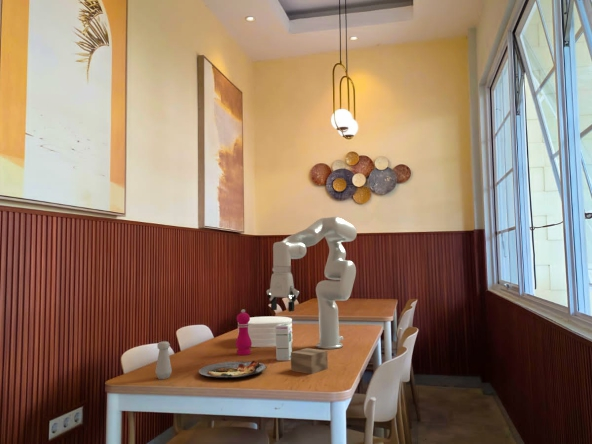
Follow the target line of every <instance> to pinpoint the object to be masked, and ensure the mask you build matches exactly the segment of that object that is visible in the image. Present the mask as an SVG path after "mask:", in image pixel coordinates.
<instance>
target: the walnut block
mask: <svg viewBox="0 0 592 444" xmlns="http://www.w3.org/2000/svg"><path fill="white" fill-rule="evenodd" d="M328 365H329V363H328V350H326V349H325V350H323V349H319V348H318V349H317V348H310V347H306V348H302V349H299V350H293V351H292V352H291V359H290V371H292V372H299V373H305V374H309V375H313V374H316V373H318V372H319V373H320V372H322V371H325V370H328V369H329V367H328Z"/></svg>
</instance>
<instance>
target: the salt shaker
mask: <svg viewBox="0 0 592 444" xmlns="http://www.w3.org/2000/svg"><path fill="white" fill-rule="evenodd" d="M170 345H171V344H170V342H169V341H159V342H158V343H157V349H158V350H159V351H158V356H157V361H156V367H155V375H156V377H157V379H158V380H167V378H168V379H169V378H170V377H171V375H172V371H173V370H172V365H171V358H170V353H169V348H170Z"/></svg>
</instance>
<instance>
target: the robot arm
mask: <svg viewBox="0 0 592 444" xmlns="http://www.w3.org/2000/svg"><path fill="white" fill-rule="evenodd" d="M357 234H358V233H357V229H356V227H355V226H354V225H353V224H352V223H350V222H349V221H347V220H345V219H343V218H340V217H339V216H330V217H322V218H319V219H317V220H315V221H314V222H313V223H312V224H310V225H309V226H308V227H307V228H305V229H302V230H301V231H300V230H299V231H298V232H296V233H294V234H291V235H289V236H287V237H286V238H284V239H283V240H281V241H276V242H274V243H273V245H272V246H273V247H272V251H273V254H272V255H273V256H272V257H273V259H272V260H273V262H272V263H273V266H272V269H271V270H272V272H273V273H272V274H271V278H270V284H269V285H270V288H269V289H267V290H266V294H267V297H268V299H269V301H270V310H271V311H277V310H278V302H277V299H278V298H287V299H288V304H287V306H288V312H295V302H296V300H297V299H298V296H299V294H300V291H299V290H297V289H296V288H295V285H294V277H293V274H292V265H291V263H292V262H291V260H298V259H299V260H300V259H302V258H303V257H305V256H306V254H307V248H308V247H311V246H315V245H317V244H318V243H319V242H320V241H321V240H323V239H324V238H325V240H326V243H327V246H328V249H329V251H328V252H329V253H328V256H327V261H326V264H325V267H324V274H323V275H324V276H325V278H326V279H327V280H325V279H324V280H320V281H319V282H318V283H317V284H316V287H315V293H316V298H317V306H318V332H319V333H318V334H319V336H318V337H319V342H317V343H316V345H315V346H316V348H318V349H325V350H326V349H328V350H330V349H339V348H342V347H343V343H342V342H341V341H343V340H344V336H343V335H340V328H339V326H340V323H339V307H338V304H337V303H336V302H337V301H341V302H344V301H345V302H346V301H348V299H349V298H350V297H351V295H352V291H353V287H354V282H355V279H356V274H357V268H356V265H355V263H354V262H353V261H352V260H349V259H348V260H347V259H346V257H347V252H346V249H345V247H344V246H343V244H342V243H347V242H353V241H354V240H356V238H357Z"/></svg>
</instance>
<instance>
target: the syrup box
mask: <svg viewBox="0 0 592 444" xmlns="http://www.w3.org/2000/svg"><path fill="white" fill-rule="evenodd" d="M291 328H292V327H291V324H279V325H277V326H275V331H276V346H275V350H276V351H275V352H276V353H275V355H276V357H275V358H276V361H283V362H284V361H286V362H288V361H291V352H293V344H292V343H293V337H292V338H291V333H292V332H291Z"/></svg>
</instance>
